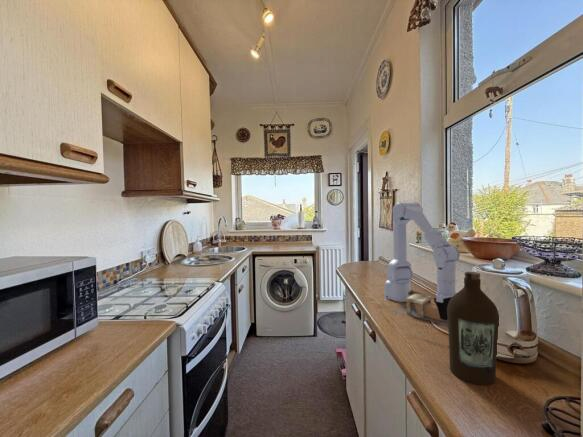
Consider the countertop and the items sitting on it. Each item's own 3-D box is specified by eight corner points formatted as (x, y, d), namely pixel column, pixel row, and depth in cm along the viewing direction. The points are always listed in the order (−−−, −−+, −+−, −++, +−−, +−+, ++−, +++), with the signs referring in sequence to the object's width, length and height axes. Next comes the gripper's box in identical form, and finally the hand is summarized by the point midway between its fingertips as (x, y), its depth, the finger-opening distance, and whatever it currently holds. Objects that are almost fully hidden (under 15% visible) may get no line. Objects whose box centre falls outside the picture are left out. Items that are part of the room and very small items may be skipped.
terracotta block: (416, 314, 104) (416, 303, 103) (420, 311, 106) (420, 301, 106) (448, 322, 96) (448, 310, 96) (452, 319, 99) (452, 307, 98)
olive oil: (444, 358, 75) (444, 267, 74) (490, 366, 71) (491, 269, 70) (450, 381, 65) (451, 276, 64) (505, 391, 61) (506, 279, 60)
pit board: (392, 314, 107) (392, 311, 107) (403, 307, 114) (403, 304, 114) (453, 330, 92) (453, 326, 92) (461, 321, 99) (461, 318, 99)
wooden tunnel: (406, 313, 104) (406, 298, 104) (415, 308, 110) (415, 293, 110) (423, 318, 100) (423, 301, 100) (431, 311, 106) (431, 296, 105)
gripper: (452, 285, 90) (452, 326, 90) (464, 277, 100) (464, 314, 100) (429, 282, 95) (429, 321, 95) (443, 274, 105) (443, 310, 105)
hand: (446, 317), depth 98 cm, fingers closed on terracotta block, 4 cm apart
